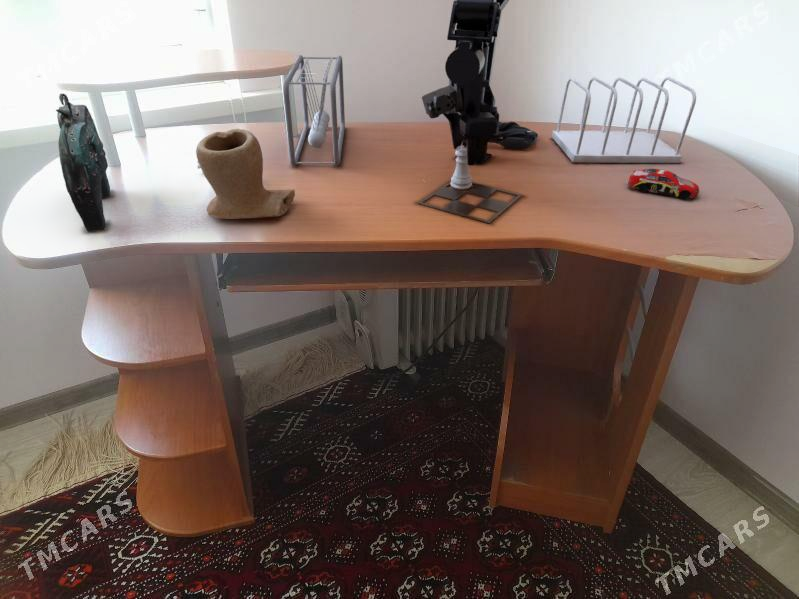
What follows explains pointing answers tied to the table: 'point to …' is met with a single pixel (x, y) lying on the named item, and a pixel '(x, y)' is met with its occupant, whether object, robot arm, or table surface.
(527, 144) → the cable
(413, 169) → the table surface
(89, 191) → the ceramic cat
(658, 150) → the file sorter
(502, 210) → the chessboard
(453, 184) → the rook chess piece
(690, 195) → the race car
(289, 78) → the newton's cradle
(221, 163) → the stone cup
